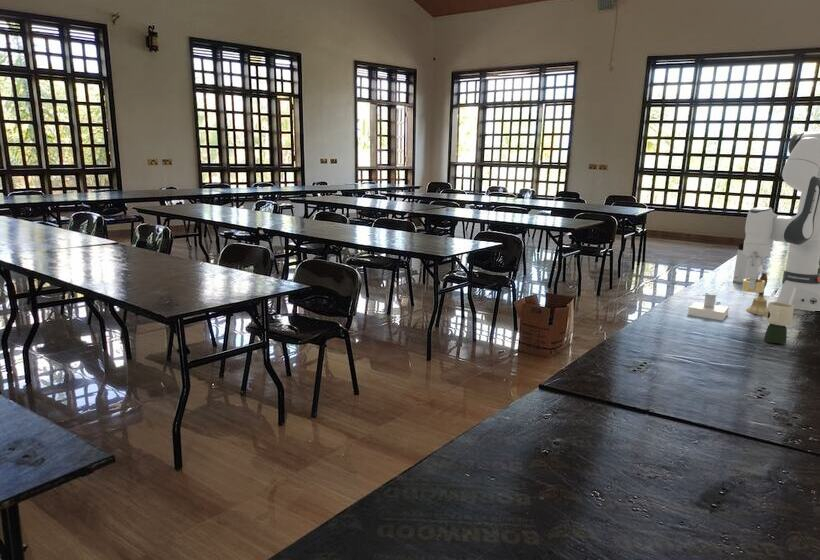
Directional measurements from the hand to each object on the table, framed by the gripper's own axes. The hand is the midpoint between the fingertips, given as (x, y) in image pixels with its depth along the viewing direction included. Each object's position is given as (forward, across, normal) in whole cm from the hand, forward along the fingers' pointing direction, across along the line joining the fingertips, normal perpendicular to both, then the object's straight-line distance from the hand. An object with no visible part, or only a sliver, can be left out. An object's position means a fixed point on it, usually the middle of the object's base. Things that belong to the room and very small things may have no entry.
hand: (753, 286), depth 220 cm
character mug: (+12, -34, -10) cm, 37 cm away
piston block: (+11, -8, +14) cm, 19 cm away
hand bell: (+12, +10, -2) cm, 16 cm away
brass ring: (+2, 0, 0) cm, 2 cm away
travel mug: (+12, +74, +12) cm, 76 cm away
